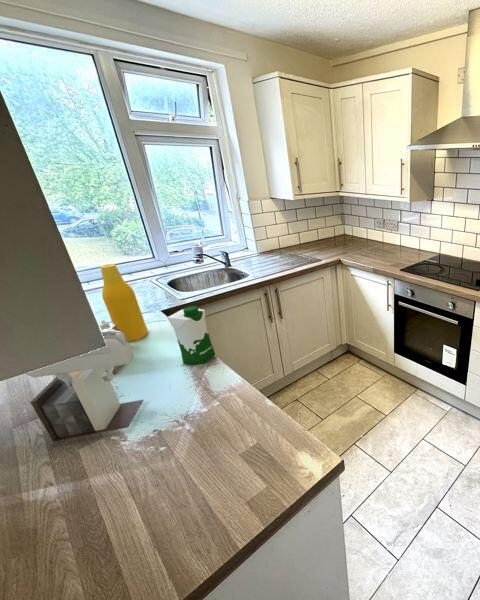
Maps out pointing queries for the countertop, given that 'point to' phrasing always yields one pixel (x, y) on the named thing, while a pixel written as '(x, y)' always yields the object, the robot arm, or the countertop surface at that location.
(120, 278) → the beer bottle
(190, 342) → the milk carton
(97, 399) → the white book
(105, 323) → the eye dropper bottle
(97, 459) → the countertop surface
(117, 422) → the grey book rack
